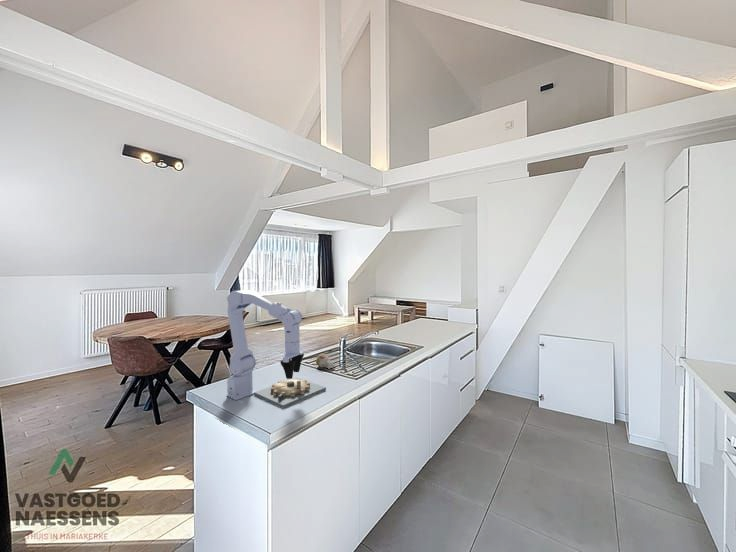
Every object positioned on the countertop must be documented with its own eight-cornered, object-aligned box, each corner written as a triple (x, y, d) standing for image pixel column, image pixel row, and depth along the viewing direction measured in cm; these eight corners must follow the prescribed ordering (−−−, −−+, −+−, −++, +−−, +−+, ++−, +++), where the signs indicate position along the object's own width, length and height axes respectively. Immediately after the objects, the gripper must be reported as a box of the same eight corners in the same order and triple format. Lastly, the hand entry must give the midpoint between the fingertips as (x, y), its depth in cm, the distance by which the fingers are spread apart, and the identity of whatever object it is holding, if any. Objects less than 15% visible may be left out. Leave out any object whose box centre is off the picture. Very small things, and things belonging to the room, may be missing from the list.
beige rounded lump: (328, 372, 158) (319, 354, 159) (320, 375, 165) (311, 359, 166) (339, 365, 163) (330, 348, 165) (331, 369, 170) (322, 353, 172)
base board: (283, 408, 117) (283, 400, 116) (254, 395, 129) (254, 388, 129) (325, 390, 134) (325, 383, 134) (296, 380, 146) (296, 373, 146)
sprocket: (286, 400, 120) (286, 388, 120) (263, 390, 130) (262, 379, 130) (317, 387, 133) (317, 377, 132) (294, 379, 143) (294, 369, 143)
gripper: (295, 345, 115) (296, 382, 115) (307, 337, 129) (308, 369, 129) (277, 345, 116) (278, 381, 116) (291, 337, 130) (292, 368, 130)
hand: (293, 375), depth 123 cm, fingers open, 7 cm apart
